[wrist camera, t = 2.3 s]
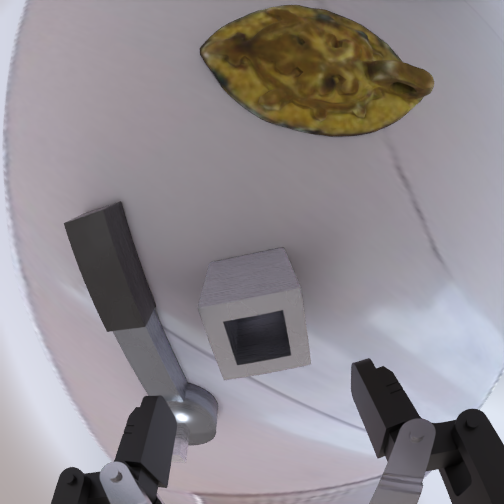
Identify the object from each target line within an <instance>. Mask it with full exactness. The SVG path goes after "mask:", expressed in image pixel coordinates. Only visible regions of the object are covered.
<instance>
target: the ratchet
mask: <svg viewBox="0 0 504 504" xmlns="http://www.w3.org/2000/svg"><path fill="white" fill-rule="evenodd" d="M64 225H65V229H66V232H67V235H68V238H69V241H70V244H71V247H72V250H73V253H74V255H75V258H76V261H77V264H78V266H79V269H80V271H81V274H82V277H83V279H84V282H85V284H86V286H87V289H88V291H89V294H90V296H91V298H92V300H93V303H94V305H95V307H96V309H97V312H98V314H99V316H100V318H101V320H102V322H103V324H104V326H105V328H106V330H107V332H109V331H113V333H114V335H115V337H116V339H117V341H118V343H119V344H120V346H121V348H122V350H123V352H124V354H125V356H126V358H127V359H128V361H129V363H130V365H131V367H132V368H133V370H134V372H135V374H136V375H137V377H138V379H139V380H140V382H141V384H142V385H143V387H144V389H145V390H146V392H147V394H148V395H149V396H158V395H161V396H163V398H164V399H165V401H166V402H167V404H168V406H169V407H170V409H171V411H172V412H173V414H174V416H175V418H176V421H177V431H176V437H175V443H174V448H173V454H172V460H171V462H177V463H186V458H187V450H188V445H200V444H204V443H207V442H209V441H210V440H212V439H213V438H214V437H215V434H216V425H217V410H218V405H217V402H216V400H215V398H214V397H213V396H212V395H211V394H210V393H209V392H208V391H206V390H204V389H203V388H201V387H199V386H196V385H193V384H190V383H188V382H187V380H186V378H185V376H184V374H183V372H182V370H181V368H180V366H179V364H178V362H177V360H176V357H175V355H174V353H173V351H172V349H171V347H170V344H169V342H168V340H167V337H166V335H165V333H164V331H163V328H162V326H161V323H160V321H159V319H158V316H157V314H156V311H155V307H156V305H155V302H154V300H153V297H152V295H151V292H150V289H149V287H148V284H147V281H146V278H145V276H144V273H143V270H142V267H141V264H140V261H139V258H138V256H137V253H136V249H135V246H134V243H133V240H132V237H131V234H130V231H129V227H128V224H127V221H126V217H125V214H124V210H123V207H122V203H121V202H117V203H114V204H111V205H108V206H105V207H102V208H99V209H96V210H93V211H90V212H87V213H85V214H82V215H80V216H78V217H76V218H74V219H72V220H70V221H68V222H66V223H64Z"/></svg>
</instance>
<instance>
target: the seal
mask: <svg viewBox="0 0 504 504" xmlns="http://www.w3.org/2000/svg"><path fill="white" fill-rule="evenodd" d="M200 55H201V57H202V58H203V60H204V62H205V63H206V64H207V66H208V67H209V68H210V70H211V71H212V73H213V74H214V75H215V77H216V79H217V80H218V82H219V83H220V85H221V86H222V88H223V89H224V90H225V91H226V92H227V93H228V94H229V95H230V96H231V97H232V98H233V99H234V100H235V101H236V102H238V103H239V104H240V105H241V106H243V107H244V108H245V109H247V110H248V111H250V112H251V113H253V114H254V115H256V116H258V117H259V118H261V119H263V120H265V121H267V122H270V123H273V124H276V125H280V126H283V127H287V128H291V129H294V130H298V131H301V132H305V133H310V134H318V135H326V136H357V135H362V134H368V133H372V132H375V131H378V130H380V129H382V128H385V127H387V126H389V125H391V124H393V123H395V122H396V121H398V120H400V119H401V118H402V117H403V116H405V115H406V114H407V113H408V112H409V111H410V110H411V109H412V108H413V107H414V106H415V105H416V104H418V103H419V102H420V101H421V100H422V99H423V97H424V96H426V95H428V94H430V93H431V91H432V89H433V87H434V80H433V77H432V75H431V74H430V73H428V72H427V71H425V70H424V69H420V68H417V67H414V66H411V65H409V64H407V63H403V62H402V61H401V59H400V58H399V57H398V56H397V55H396V54H395V52H394V51H393V50H392V49H391V48H390V47H389V45H388V44H387V43H385V42H384V41H383V40H381V39H380V38H379V37H378V36H376V35H375V34H373V33H372V32H371V31H369V30H368V29H367V28H365V27H364V26H362V25H361V24H358V23H356V22H354V21H352V20H350V19H348V18H345V17H343V16H340V15H337V14H335V13H332V12H330V11H327V10H323V9H314V8H308V7H304V6H300V5H284V6H277V7H271V8H268V9H264V10H260V11H256V12H253V13H251V14H248V15H246V16H244V17H242V18H239V19H237V20H235V21H233V22H231V23H228V24H227V25H225V26H223V27H222V28H220V29H219V30H218V31H216V32H215V33H214V34H213V35H212V36H211V37H210V38H209V39H208V40H207V41H206V42H205V43H204V44H203V45H202V46H201V48H200Z"/></svg>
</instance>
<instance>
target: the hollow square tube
mask: <svg viewBox="0 0 504 504" xmlns="http://www.w3.org/2000/svg"><path fill="white" fill-rule="evenodd" d="M198 311H199V313H200V316H201V319H202V322H203V325H204V328H205V331H206V333H207V336H208V339H209V342H210V344H211V347H212V350H213V353H214V355H215V358H216V361H217V363H218V366H219V368H220V371H221V374H222V376H223V379H224V380H228V379H235V378H242V377H248V376H254V375H260V374H266V373H271V372H277V371H282V370H287V369H292V368H296V367H301V366H305V365H310V364H311V359H310V351H309V343H308V335H307V328H306V320H305V313H304V306H303V299H302V292H301V287H300V284H299V282H298V280H297V277H296V275H295V273H294V270H293V268H292V266H291V263H290V261H289V259H288V256H287V254H286V252H285V249H284V247H282V248H277V249H272V250H267V251H262V252H258V253H253V254H248V255H243V256H238V257H233V258H229V259H224V260H219V261H214V262H210V264H209V267H208V271H207V275H206V278H205V282H204V286H203V290H202V293H201V297H200V301H199V305H198Z"/></svg>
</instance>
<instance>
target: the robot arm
mask: <svg viewBox="0 0 504 504" xmlns="http://www.w3.org/2000/svg"><path fill="white" fill-rule="evenodd" d="M351 392H352V396H353V400H354V402H355V404H356V407H357V409H358V412H359V414H360V416H361V419H362V421H363V424H364V426H365V428H366V431H367V433H368V436H369V438H370V441H371V443H372V446H373V448H374V451H375V453H376V456H377V458H381V457H383V456H386V459H387V461H388V463H387V465H386V468H385V470H384V473H383V475H382V477H381V479H380V482H379V484H378V486H377V488H376V490H375V492H374V494H373V497H372V499H371V501H370V503H369V504H417V502H418V500H419V497H420V494H421V492H422V488H423V484H422V481H423V478H424V475H425V472H426V471H430V470H436V469H439V472H440V474H441V476H442V479H443V481H444V484H445V486H446V489H447V491H448V494H449V497H450V499H451V502H452V504H504V445H503V443H502V441H501V439H500V438H499V436H498V434H497V433H496V431H495V430H494V428H493V426H492V425H491V423H490V421H489V420H488V418H487V417H486V415H485V414H484V413H483V412H482V411H480V410H478V409H468V410H465V411H463V412H462V413H461V414H460V415H459V416H458V418H457V419H456V420H453V421H448V422H442V423H431V422H429V421H428V420H425V419H422V418H421V417H420V416H419V414H418V413H417V411H416V409H415V408H414V406H413V404H412V403H411V401H410V399H409V398H408V396H407V394H406V393H405V391H404V390H403V388H402V386H401V385H400V383H399V382H398V380H397V378H396V377H395V375H394V373H393V372H392V371H390V370H389V369H387V368H386V367H384V366H382V367H379V368H375V366H374V364H373V362H372V361H371V359H369V358H368V359H365V360H362V361H358V362H355V363H352V366H351ZM176 431H177V421H176V418H175V416H174V414H173V412H172V411H171V409H170V407H169V406H168V404H167V402H166V401H165V399H164V398H163V396H161V395H158V396H145V397H144V398H143V400H142V403H141V406H140V407H136V408H135V409H134V411H133V412H132V413H131V414H130V415H129V418H128V421H127V424H126V427H125V430H124V434H123V436H122V439H121V442H120V445H119V448H118V451H117V454H116V458H115V460H114V462H111V463H108V464H107V465H106V466H104V467H103V468H102V470H101V472H96V473H87V474H84V473H83V472H82V471H81V470H79V469H78V468H75V467H70V468H67V469H65V470H64V471H63V472H62V473H61V474H60V477H59V480H58V483H57V486H56V489H55V493H54V496H53V499H52V502H51V504H165V503H164V502H163V501H162V499H161V498H160V496H159V495H158V494H157V490H158V487H164V488H167V486H168V479H169V473H170V466H171V460H172V454H173V448H174V443H175V437H176Z"/></svg>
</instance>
